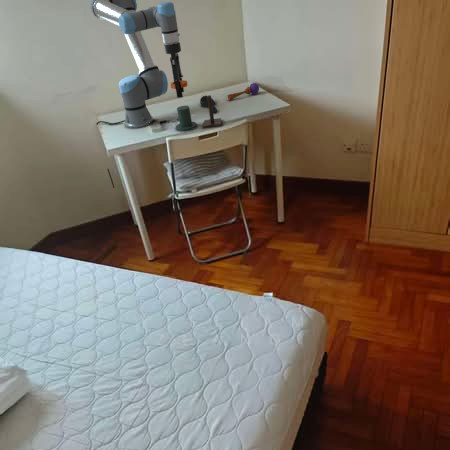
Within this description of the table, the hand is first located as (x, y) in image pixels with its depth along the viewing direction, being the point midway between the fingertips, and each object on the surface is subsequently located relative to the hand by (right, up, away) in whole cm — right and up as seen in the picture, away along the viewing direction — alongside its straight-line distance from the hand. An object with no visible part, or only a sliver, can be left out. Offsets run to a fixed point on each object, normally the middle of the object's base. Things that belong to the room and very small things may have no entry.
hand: (180, 94), depth 209 cm
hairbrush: (+14, +8, +31) cm, 35 cm away
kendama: (+34, +18, +39) cm, 54 cm away
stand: (+2, -12, +11) cm, 16 cm away
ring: (0, +3, -3) cm, 4 cm away
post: (+16, -11, +10) cm, 22 cm away
